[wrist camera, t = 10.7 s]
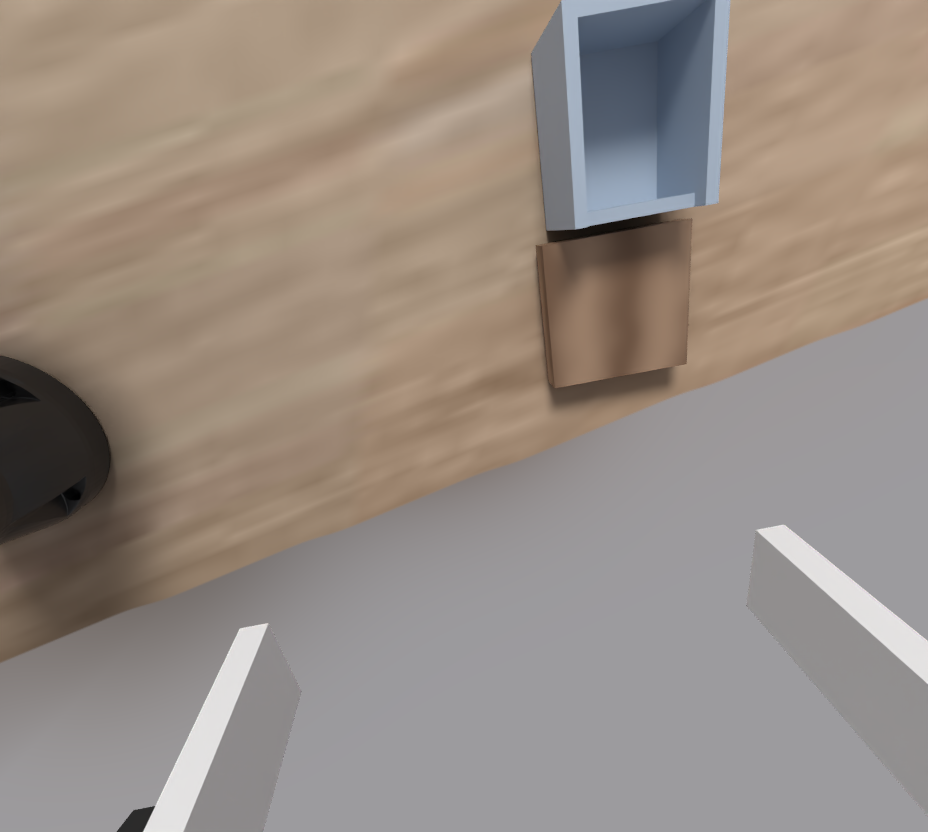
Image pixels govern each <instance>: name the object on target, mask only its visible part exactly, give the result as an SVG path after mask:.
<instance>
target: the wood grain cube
mask: <svg viewBox="0 0 928 832" xmlns="http://www.w3.org/2000/svg"><path fill="white" fill-rule="evenodd" d="M691 236H692V219H678V220H672V221H667V222H661V223H656V224H650V225H645V226H639V227H634V228H628V229H623V230H618V231H612V232H607V233H601V234H596V235H590V236H585V237H579V238H574V239H568V240H563V241H557V242H552V243H546V244H541V245H536V253H537V263H538V274H539V285H540V295H541V306H542V317H543V327H544V338H545V349H546V359H547V370H548V381H549V382H550V383H551V384H552V386H553V387H554V388H560V387H565V386H571V385H576V384H581V383H587V382H592V381H598V380H603V379H608V378H614V377H619V376H624V375H630V374H635V373H641V372H646V371H651V370H657V369H662V368H668V367H673V366H678V365H684V364H686V362H687V337H688V312H689V286H690V261H691Z"/></svg>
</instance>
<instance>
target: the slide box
mask: <svg viewBox="0 0 928 832" xmlns="http://www.w3.org/2000/svg"><path fill="white" fill-rule="evenodd" d="M729 13H730V0H561V2H560V4H559V6H558V7H557V9H556V11H555V13H554V14H553V16H552V18H551V20H550V21H549V23H548V25H547V27H546V28H545V30H544V32H543V34H542V35H541V37H540V39H539V41H538V42H537V44H536V46H535V47H534V49H533V51H532V53H531V56H532V68H533V80H534V91H535V103H536V115H537V126H538V138H539V149H540V161H541V173H542V184H543V196H544V208H545V219H546V231H549V230H575V229H581V228H586V227H588V226H592V225H598V224H603V223H608V222H614V221H619V220H625V219H630V218H635V217H641V216H646V215H652V214H657V213H662V212H668V211H673V210H679V209H684V208H689V207H695V206H704V205H710V204H716V203H718V199H719V182H720V165H721V148H722V132H723V115H724V98H725V81H726V64H727V47H728V30H729Z"/></svg>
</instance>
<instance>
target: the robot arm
mask: <svg viewBox="0 0 928 832" xmlns="http://www.w3.org/2000/svg"><path fill="white" fill-rule="evenodd" d="M109 464H110V458H109V449H108V445H107V441H106V438H105V435H104V433H103V431H102V429H101V427H100V425H99V423H98V421H97V420H96V418H95V417H94V415H93V414H92V412H91V411H90V410H89V409H88V407H87V406H86V405H85V404H84V403H83V402H82V401H81V400H80V399H79V398H78V397H77V396H76V395H75V394H74V393H73V392H72V391H71V390H70V389H68V388H67V387H66V386H65V385H63V384H62V383H61V382H59V381H58V380H56V379H55V378H53V377H52V376H50V375H48V374H46V373H45V372H43V371H41V370H39V369H37V368H35V367H33V366H31V365H28V364H26V363H23V362H20V361H18V360H15V359H11V358H8V357H4V356H0V544H3V543H5V542H8V541H11V540H14V539H16V538H19V537H22V536H24V535H27V534H30V533H32V532H35V531H38V530H41V529H43V528H46V527H49V526H51V525H54V524H56V523H59V522H61V521H63V520H64V519H66V518H68V517H70V516H71V515H73V514H74V513H75V512H77V511H78V510H79V509H80V508H82V507H83V506H84V505H86V504H87V503H88V502H89V501H91V500H92V499H93V498H94V497H95V496H96V495H97V494H98V493H99V491H100V490H101V489H102V487H103V485H104V483H105V481H106V479H107V476H108V472H109ZM746 606H747V607H748V608H749V609H750V611H751V612H752V613H753V614H754V615H755V616H756V618H757V619H758V620H759V621H760V622H761V623H762V624H763V626H764V627H765V628H766V629H767V630H768V631H769V633H770V634H771V635H772V636H773V637H774V638H775V639H776V641H777V642H778V643H779V644H780V645H781V647H782V648H783V649H784V650H785V651H786V652H787V654H788V655H789V656H790V657H791V658H792V659H793V660H794V662H795V663H796V664H797V665H798V666H799V667H800V668H801V670H802V671H803V672H804V673H805V674H806V676H807V677H808V678H809V679H810V680H811V681H812V682H813V684H814V685H815V686H816V687H817V688H818V689H819V690H820V692H821V693H822V694H823V695H824V696H825V698H826V699H827V700H828V701H829V702H830V703H831V704H832V706H833V707H834V708H835V709H836V710H837V711H838V713H839V714H840V715H841V716H842V717H843V718H844V720H845V721H846V722H847V723H848V724H849V725H850V727H851V728H852V729H853V730H854V731H855V732H856V733H857V735H858V736H859V737H860V738H861V739H862V741H864V743H865V744H866V745H867V746H868V747H869V749H870V750H871V751H872V752H873V753H874V754H875V756H876V757H877V758H878V759H879V760H880V761H881V763H882V764H883V765H884V766H885V767H886V768H887V769H888V771H889V772H890V773H891V774H892V775H893V776H894V778H895V779H896V780H897V781H898V782H899V783H900V785H901V786H902V787H903V788H904V789H905V790H906V791H907V793H908V794H909V795H910V796H911V797H912V798H913V800H914V801H915V802H916V803H917V804H918V805H919V807H920V808H921V809H922V810H923V811H924V812H925V813H926V814H927V816H928V641H927V640H926V639H925V638H923V637H922V636H921V635H920V634H918V633H917V632H916V631H915V630H913V629H912V628H911V627H910V626H908V625H907V624H906V623H905V622H904V621H902V620H901V619H900V618H899V617H897V616H896V615H895V614H894V613H892V612H891V611H890V610H889V609H888V608H886V607H885V606H884V605H883V604H881V603H880V602H879V601H878V600H876V599H875V598H874V597H873V596H871V595H870V594H869V593H868V592H867V591H865V590H864V589H863V588H862V587H860V586H859V585H858V584H856V583H855V582H854V581H853V580H852V579H850V578H849V577H848V576H847V575H846V574H844V573H843V572H842V571H841V570H839V569H838V568H837V567H836V566H834V565H833V564H832V563H831V562H829V561H828V560H827V559H826V558H825V557H823V556H822V555H821V554H820V553H818V552H817V551H816V550H815V549H813V548H812V547H811V546H810V545H808V544H807V543H806V542H805V541H804V540H802V539H801V538H800V537H799V536H797V535H796V534H795V533H794V532H793V531H791V530H790V529H789V528H788V527H786V526H785V525H780V526H775V527H769V528H764V529H759V530H756V533H755V541H754V549H753V557H752V565H751V573H750V582H749V589H748V597H747V605H746ZM300 695H301V689H300V687H299V685H298V683H297V681H296V679H295V677H294V675H293V673H292V671H291V668H290V667H289V665H288V662H287V660H286V658H285V656H284V654H283V652H282V650H281V648H280V646H279V644H278V642H277V640H276V637H275V636H274V633H273V631H272V629H271V627H270V625H269V623H267V624H262V625H256V626H251V627H245V628H240V629H239V631H238V634H237V636H236V638H235V640H234V642H233V644H232V646H231V648H230V650H229V653H228V655H227V657H226V659H225V661H224V663H223V665H222V667H221V669H220V671H219V674H218V676H217V678H216V680H215V682H214V684H213V686H212V688H211V690H210V692H209V695H208V697H207V699H206V701H205V703H204V705H203V707H202V709H201V712H200V713H199V716H198V718H197V720H196V722H195V724H194V726H193V728H192V730H191V732H190V734H189V737H188V739H187V741H186V743H185V745H184V747H183V749H182V751H181V753H180V756H179V758H178V760H177V762H176V764H175V766H174V768H173V770H172V772H171V775H170V777H169V779H168V781H167V783H166V785H165V787H164V789H163V791H162V793H161V796H160V798H159V800H158V802H157V804H156V806H153V807H148V808H143V809H138V810H134V811H133V812H132V813H131V814H130V815H129V817H128V818H127V819H126V821H125V822H124V823H123V824H122V826H121V827H120V828H119V829H118V831H117V832H263V830H264V826H265V823H266V819H267V815H268V812H269V808H270V804H271V801H272V797H273V793H274V790H275V786H276V783H277V779H278V775H279V771H280V768H281V764H282V761H283V757H284V753H285V750H286V746H287V743H288V739H289V735H290V732H291V728H292V724H293V721H294V717H295V713H296V710H297V706H298V703H299V699H300Z"/></svg>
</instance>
